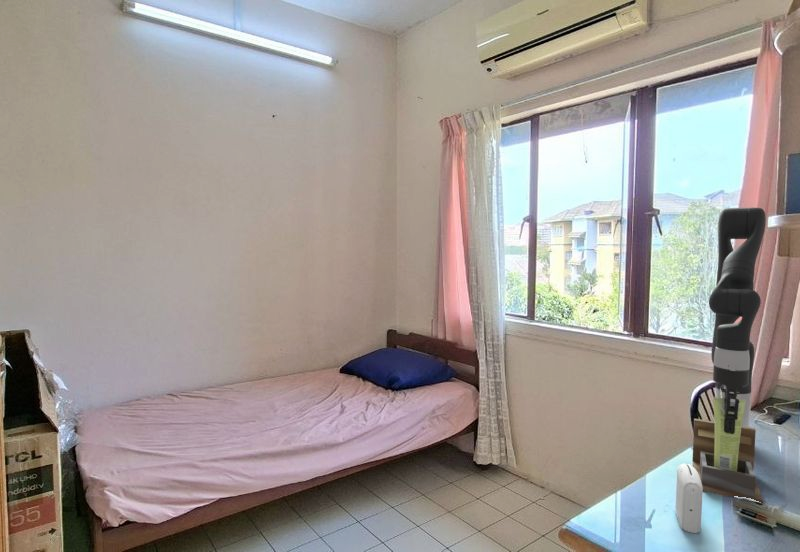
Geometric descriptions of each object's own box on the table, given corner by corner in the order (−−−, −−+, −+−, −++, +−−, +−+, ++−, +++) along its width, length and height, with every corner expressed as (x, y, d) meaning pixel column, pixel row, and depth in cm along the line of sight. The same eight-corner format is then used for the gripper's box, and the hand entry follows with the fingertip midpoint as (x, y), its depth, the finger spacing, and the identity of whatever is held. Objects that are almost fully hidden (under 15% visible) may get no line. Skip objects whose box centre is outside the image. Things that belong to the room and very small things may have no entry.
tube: (720, 463, 124) (724, 393, 122) (742, 472, 119) (745, 399, 118) (709, 469, 121) (713, 397, 120) (731, 477, 117) (734, 403, 115)
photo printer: (702, 535, 100) (705, 481, 99) (680, 530, 101) (682, 477, 100) (694, 510, 109) (696, 460, 108) (673, 506, 111) (675, 457, 110)
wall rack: (692, 461, 133) (694, 418, 132) (752, 474, 126) (754, 428, 125) (694, 488, 119) (696, 440, 118) (762, 504, 111) (765, 452, 111)
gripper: (711, 357, 126) (709, 418, 127) (715, 369, 114) (712, 436, 115) (745, 361, 122) (742, 423, 123) (753, 374, 110) (750, 443, 111)
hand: (728, 429), depth 119 cm, fingers closed on tube, 4 cm apart
